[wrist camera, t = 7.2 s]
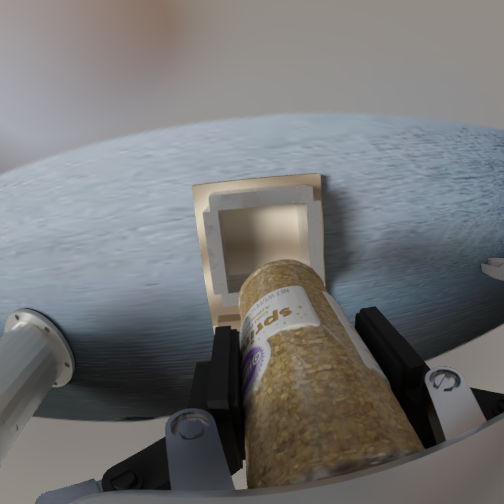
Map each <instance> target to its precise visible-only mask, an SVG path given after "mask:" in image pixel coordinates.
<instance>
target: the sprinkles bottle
mask: <svg viewBox="0 0 504 504" xmlns="http://www.w3.org/2000/svg"><path fill="white" fill-rule="evenodd" d="M238 309H239V313H240V316H241V330H240V363H241V401H242V409H243V412H244V425H245V452H246V464H247V465H246V478H247V486H248V488H247V489H257V488H268V487H277V486H285V485H292V484H299V483H305V482H311V481H316V480H322V479H327V478H332V477H336V476H341V475H345V474H349V473H354V472H357V471H361V470H365V469H369V468H372V467H376V466H379V465H382V464H386V463H389V462H392V461H395V460H398V459H401V458H404V457H407V456H410V455H412V454H415V453H418V452H420V451H423V450H426V449H425V448H424V447H423V445H422V443H421V441H420V439H419V438H418V436H417V434H416V432H415V431H414V429H413V427H412V425H411V424H410V423H409V421H408V419H407V417H406V415H405V413H404V411H403V410H402V408H401V406H400V404H399V402H398V401H397V399H396V397H395V396H394V394H393V392H392V390H391V387H390V383H389V382H388V380H387V378H386V376H385V375H384V373H383V371H382V370H381V368H380V367H379V365H378V363H377V362H376V360H375V359H374V357H373V356H372V354H371V353H370V351H369V350H368V348H367V346H366V345H365V343H364V342H363V340H362V339H361V337H360V336H359V334H358V333H357V331H356V330H355V328H354V327H353V325H352V324H351V322H350V321H349V320H348V318H347V317H346V315H345V314H344V312H343V311H342V309H341V308H340V306H339V305H338V303H337V302H336V301H335V299H334V298H333V297H331V296H330V295H329V293H328V292H327V290H326V288H325V286H324V282H323V280H322V279H321V277H320V276H319V275H318V274H317V273H316V272H315V271H314V270H313V268H311V267H309V266H307V265H306V264H304V263H302V262H300V261H297V260H289V259H283V260H277V261H273V262H270V263H266V264H265V265H263V266H260V267H259V268H257V269H256V270H255V271H254V272H253V273H251V274H250V276H249V277H248V278H247V279H246V281H245V282H244V284H243V285H242V287H241V290H240V292H239V297H238Z"/></svg>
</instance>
